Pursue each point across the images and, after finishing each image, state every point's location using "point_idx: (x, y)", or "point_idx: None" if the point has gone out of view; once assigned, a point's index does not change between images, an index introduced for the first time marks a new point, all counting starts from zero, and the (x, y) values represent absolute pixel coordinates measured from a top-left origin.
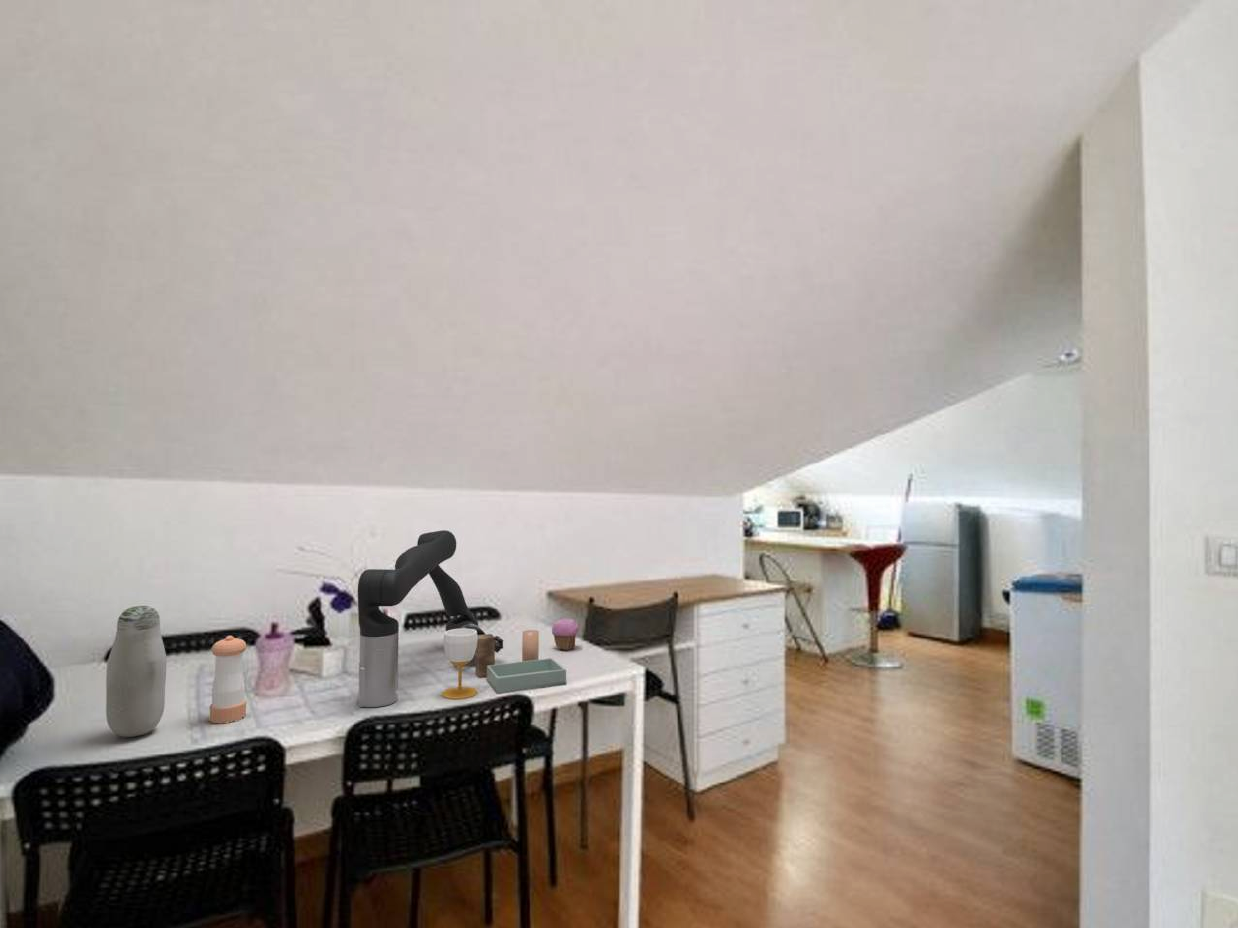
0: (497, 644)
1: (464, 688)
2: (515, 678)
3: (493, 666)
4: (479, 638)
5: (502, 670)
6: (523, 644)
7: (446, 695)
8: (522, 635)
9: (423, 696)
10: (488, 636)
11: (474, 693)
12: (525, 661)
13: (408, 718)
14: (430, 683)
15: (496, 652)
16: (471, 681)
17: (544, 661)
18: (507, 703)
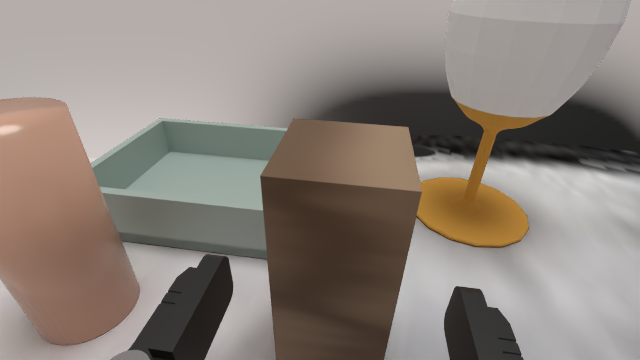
0: (202, 269)
1: (450, 224)
2: None
3: None
4: (403, 134)
5: None
6: (88, 188)
7: (508, 203)
8: (48, 148)
9: (594, 232)
10: (322, 142)
11: (421, 185)
12: (174, 199)
13: (573, 153)
14: (637, 353)
15: (231, 295)
16: (416, 284)
17: None
18: None
